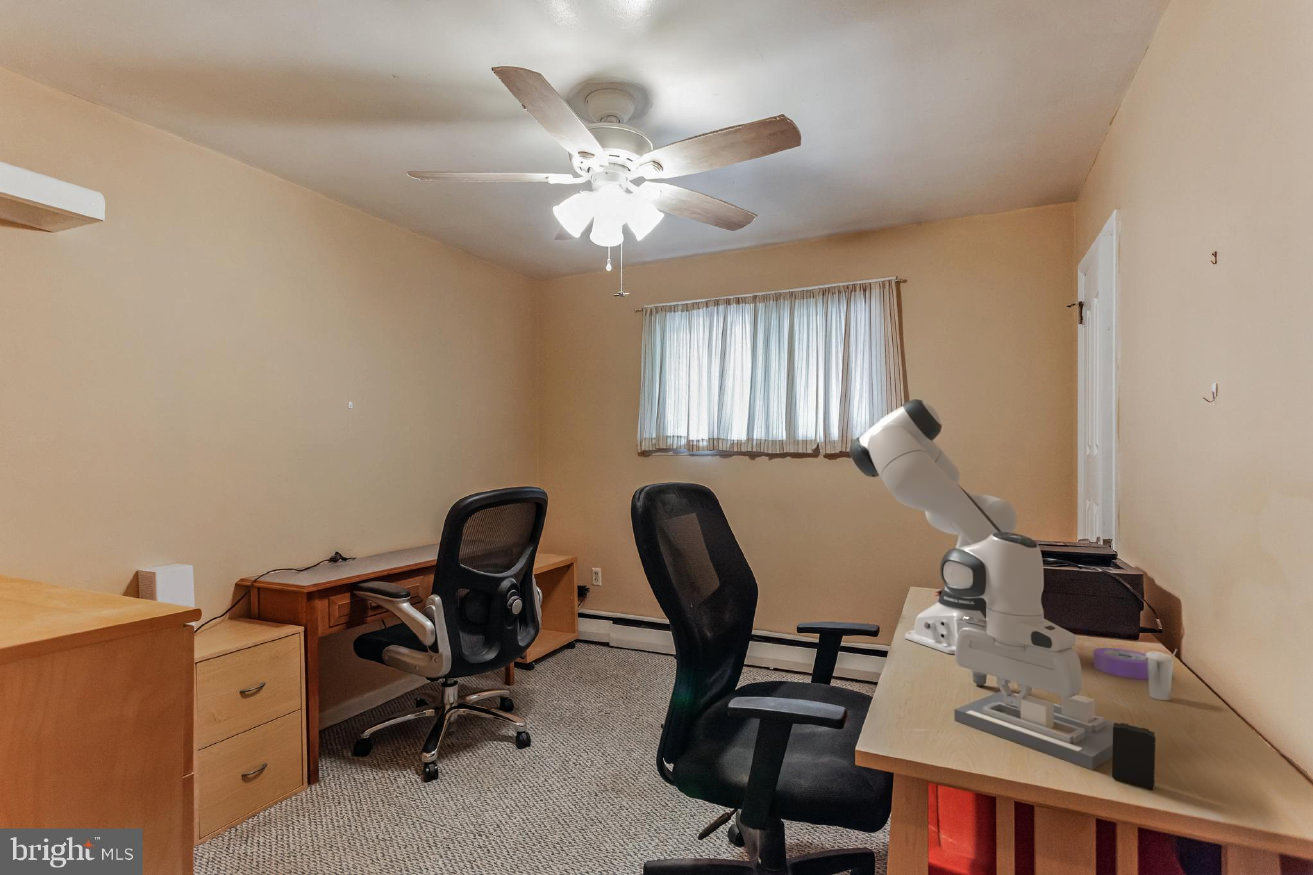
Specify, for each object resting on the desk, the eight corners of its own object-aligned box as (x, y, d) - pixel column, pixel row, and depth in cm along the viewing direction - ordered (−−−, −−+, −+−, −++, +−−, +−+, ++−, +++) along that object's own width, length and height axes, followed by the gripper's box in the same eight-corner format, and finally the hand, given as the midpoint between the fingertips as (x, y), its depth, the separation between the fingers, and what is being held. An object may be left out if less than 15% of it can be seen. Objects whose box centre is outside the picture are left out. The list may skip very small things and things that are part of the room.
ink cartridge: (1154, 785, 93) (1155, 730, 93) (1154, 791, 91) (1155, 735, 92) (1113, 773, 96) (1114, 720, 96) (1111, 779, 95) (1112, 725, 95)
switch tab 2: (1061, 718, 111) (1061, 695, 111) (1069, 715, 113) (1069, 692, 113) (1087, 726, 108) (1087, 702, 108) (1094, 722, 110) (1094, 699, 110)
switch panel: (954, 720, 115) (954, 703, 115) (1004, 700, 126) (1004, 684, 126) (1092, 770, 97) (1092, 750, 97) (1137, 741, 108) (1136, 723, 108)
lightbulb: (960, 679, 137) (960, 628, 138) (990, 682, 136) (990, 630, 136) (967, 689, 131) (967, 635, 132) (1000, 692, 130) (1000, 637, 130)
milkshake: (1184, 703, 126) (1183, 652, 126) (1153, 700, 127) (1152, 650, 127) (1170, 695, 130) (1170, 645, 131) (1140, 692, 131) (1140, 643, 132)
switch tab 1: (1020, 722, 109) (1020, 699, 109) (1028, 718, 111) (1028, 695, 111) (1045, 731, 106) (1045, 706, 106) (1053, 726, 108) (1053, 703, 108)
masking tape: (1081, 665, 150) (1081, 648, 150) (1119, 661, 153) (1119, 645, 153) (1131, 682, 138) (1131, 664, 138) (1170, 678, 142) (1170, 660, 142)
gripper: (948, 616, 119) (947, 691, 118) (1069, 643, 102) (1069, 731, 101) (966, 612, 122) (966, 685, 122) (1086, 638, 105) (1086, 722, 105)
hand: (1014, 706), depth 111 cm, fingers closed
